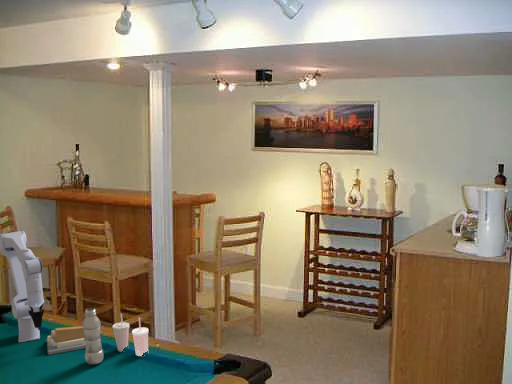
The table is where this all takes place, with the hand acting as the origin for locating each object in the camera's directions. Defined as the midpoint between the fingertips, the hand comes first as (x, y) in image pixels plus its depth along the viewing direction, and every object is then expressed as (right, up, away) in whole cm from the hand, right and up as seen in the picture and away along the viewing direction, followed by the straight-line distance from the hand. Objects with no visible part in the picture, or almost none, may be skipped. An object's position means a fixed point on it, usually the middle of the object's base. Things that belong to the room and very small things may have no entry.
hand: (38, 324), depth 220 cm
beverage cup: (+41, -9, -7) cm, 43 cm away
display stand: (+11, -9, +4) cm, 15 cm away
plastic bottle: (+26, -11, -13) cm, 31 cm away
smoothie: (+33, -9, -3) cm, 35 cm away
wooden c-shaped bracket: (+10, -7, +5) cm, 13 cm away
